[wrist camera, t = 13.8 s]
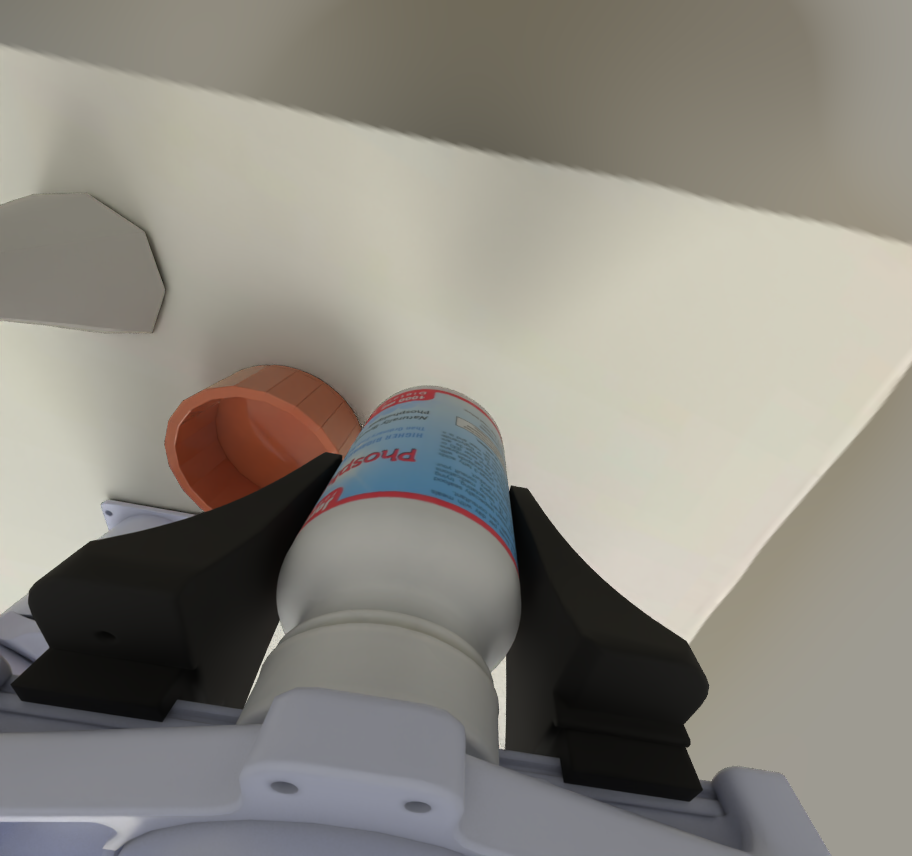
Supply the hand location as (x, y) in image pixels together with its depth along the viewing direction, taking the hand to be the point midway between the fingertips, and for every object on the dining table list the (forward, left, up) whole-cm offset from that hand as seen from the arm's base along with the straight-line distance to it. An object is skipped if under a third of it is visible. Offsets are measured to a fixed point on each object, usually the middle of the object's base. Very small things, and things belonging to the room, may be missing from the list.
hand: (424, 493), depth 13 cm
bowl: (-5, +10, -10) cm, 15 cm away
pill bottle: (0, 0, -4) cm, 4 cm away
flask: (+3, +20, -10) cm, 22 cm away
